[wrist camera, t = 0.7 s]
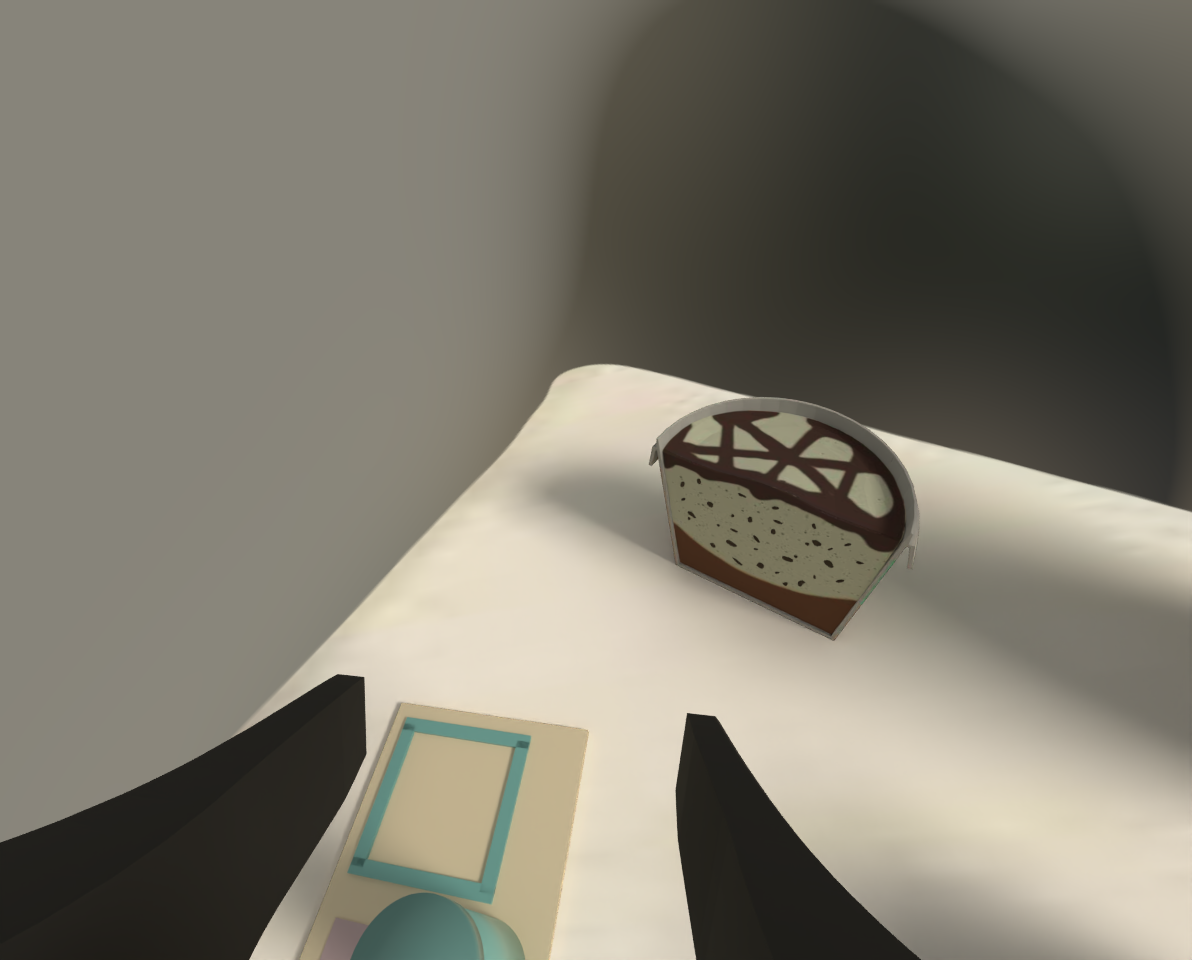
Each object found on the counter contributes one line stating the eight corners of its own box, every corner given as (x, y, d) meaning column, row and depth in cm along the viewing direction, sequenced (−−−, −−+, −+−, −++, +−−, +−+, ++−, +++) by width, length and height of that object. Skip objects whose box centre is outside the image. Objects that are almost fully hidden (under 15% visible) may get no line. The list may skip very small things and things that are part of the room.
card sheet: (527, 1088, 19) (524, 1090, 19) (280, 1017, 21) (273, 1018, 21) (588, 732, 27) (587, 728, 27) (403, 704, 29) (400, 701, 29)
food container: (897, 566, 31) (964, 439, 24) (863, 654, 28) (928, 539, 21) (701, 487, 37) (706, 364, 29) (654, 554, 34) (646, 435, 26)
